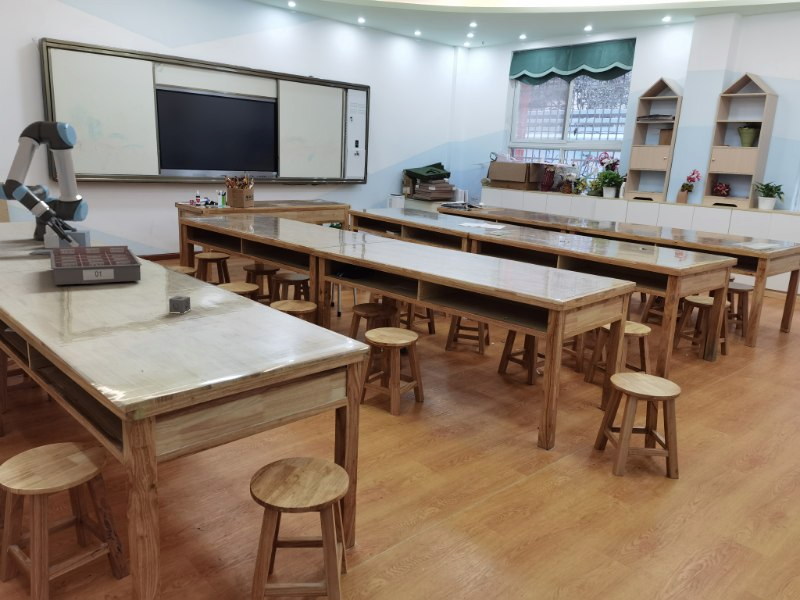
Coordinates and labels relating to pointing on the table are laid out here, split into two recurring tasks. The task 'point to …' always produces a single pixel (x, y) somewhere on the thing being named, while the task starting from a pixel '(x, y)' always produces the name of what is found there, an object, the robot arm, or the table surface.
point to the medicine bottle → (50, 238)
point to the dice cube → (179, 304)
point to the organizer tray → (94, 264)
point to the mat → (41, 252)
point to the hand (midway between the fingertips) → (80, 244)
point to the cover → (76, 238)
